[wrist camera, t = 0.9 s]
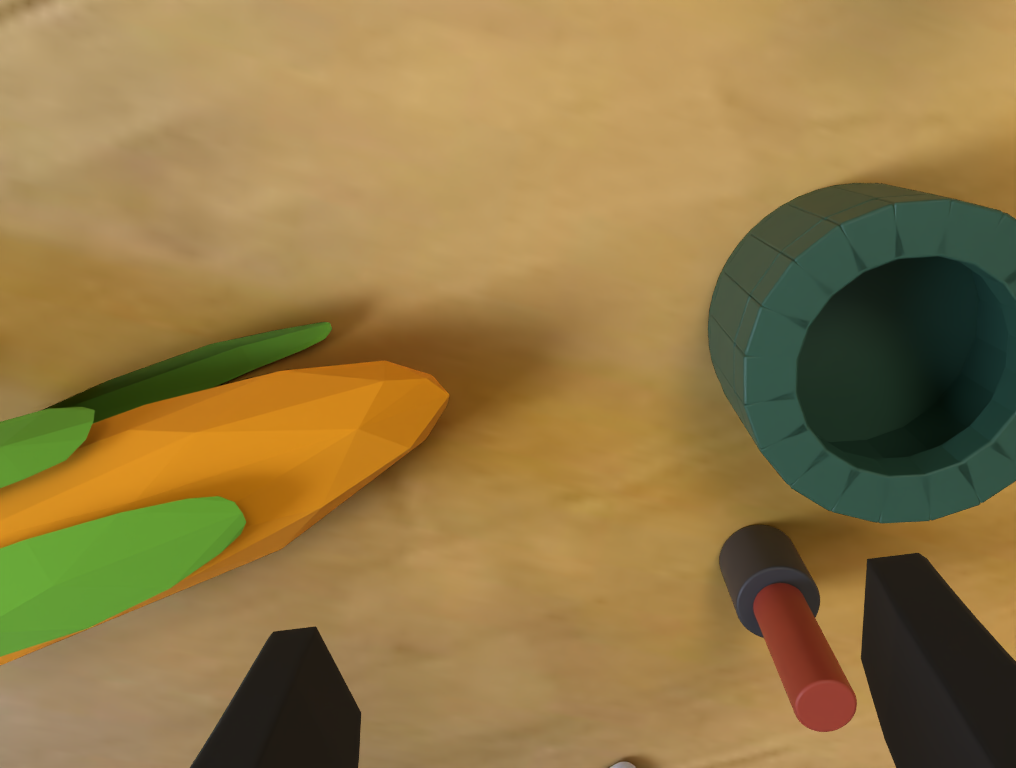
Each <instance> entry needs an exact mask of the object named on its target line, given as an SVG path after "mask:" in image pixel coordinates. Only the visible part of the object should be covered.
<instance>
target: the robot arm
mask: <svg viewBox="0 0 1016 768" xmlns="http://www.w3.org/2000/svg"><path fill="white" fill-rule="evenodd" d="M861 660H862V664H863V667H864V671H865V674H866V677H867V681H868V684H869V688H870V691H871V695H872V698H873V702H874V705H875V708H876V712H877V715H878V718H879V722H880V725H881V728H882V732H883V735H884V738H885V741H886V743H887V746H888V748H889V751H890V753H891V756H892V758H893V760H894V763H895V765H896V768H1016V661H1015V660H1014V659H1013V658H1012V657H1011V656H1010V655H1009V654H1008V653H1007V652H1006V651H1005V649H1004V648H1003V647H1002V646H1001V645H1000V644H999V643H998V642H997V641H996V639H995V638H994V637H993V636H992V635H991V634H990V633H989V632H988V630H987V629H986V628H985V627H984V626H983V625H982V624H981V623H980V622H979V620H978V619H977V618H976V617H975V616H974V615H973V614H972V612H971V611H970V610H969V609H968V608H967V607H966V605H965V604H964V603H963V602H962V601H961V600H960V598H959V597H958V596H957V595H956V594H955V592H954V591H953V590H952V589H951V588H950V586H949V585H948V584H947V583H946V582H945V580H944V579H943V578H942V577H941V576H940V574H939V573H938V572H937V571H936V569H935V568H934V567H933V566H932V564H931V563H930V562H929V561H928V559H927V558H925V557H924V556H922V555H921V554H919V553H913V554H905V555H896V556H888V557H880V558H872V559H867V570H866V586H865V603H864V619H863V635H862V651H861ZM360 725H361V712H360V710H359V708H358V706H357V704H356V702H355V700H354V698H353V696H352V694H351V692H350V691H349V689H348V687H347V685H346V683H345V681H344V679H343V677H342V675H341V673H340V671H339V670H338V668H337V666H336V664H335V662H334V660H333V658H332V656H331V654H330V652H329V651H328V649H327V647H326V645H325V643H324V641H323V639H322V637H321V635H320V633H319V631H318V630H317V628H316V627H308V628H300V629H292V630H284V631H276V632H273V633H272V634H271V635H270V637H269V638H268V640H267V641H266V643H265V645H264V646H263V648H262V650H261V651H260V653H259V655H258V656H257V658H256V660H255V661H254V663H253V665H252V667H251V668H250V670H249V672H248V673H247V675H246V677H245V678H244V680H243V682H242V684H241V685H240V687H239V689H238V690H237V692H236V694H235V695H234V697H233V699H232V700H231V702H230V704H229V705H228V707H227V709H226V710H225V712H224V714H223V715H222V717H221V719H220V720H219V722H218V724H217V725H216V727H215V729H214V730H213V732H212V733H211V735H210V737H209V738H208V740H207V741H206V743H205V745H204V746H203V748H202V749H201V751H200V753H199V754H198V756H197V757H196V759H195V760H194V762H193V764H192V765H191V767H190V768H358V762H359V746H360ZM610 768H636V767H635V766H634V765H633V764H631V763H629V762H619V763H616V764H614V765H613V766H611V767H610Z"/></svg>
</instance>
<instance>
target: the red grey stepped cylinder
mask: <svg viewBox="0 0 1016 768" xmlns="http://www.w3.org/2000/svg"><path fill="white" fill-rule="evenodd" d="M719 564H720V569H721V572H722V575H723V577H724V580H725V583H726V585H727V588H728V591H729V594H730V596H731V599H732V602H733V604H734V607H735V610H736V612H737V615H738V618H739V619H740V621H741V623H742V624H743V625H744V626H745V627H746V628H747V629H748V630H749V631H750V632H752V633H754V634H756V635H758V636H760V637H763V638H764V639H765V641H766V644H767V646H768V649H769V651H770V654H771V656H772V659H773V661H774V663H775V666H776V668H777V671H778V673H779V676H780V678H781V681H782V683H783V686H784V688H785V690H786V693H787V695H788V698H789V700H790V703H791V705H792V708H793V710H794V713H795V715H796V717H797V719H798V720H799V721H800V722H801V723H802V724H803V725H804V726H806V727H807V728H809V729H812V730H815V731H819V732H829V731H834V730H837V729H839V728H841V727H843V726H844V725H846V724H847V723H848V722H849V721H850V720H851V719H852V717H853V716H854V714H855V711H856V706H857V700H856V696H855V693H854V692H853V690H852V688H851V686H850V684H849V682H848V680H847V678H846V676H845V674H844V672H843V671H842V669H841V667H840V665H839V663H838V661H837V659H836V657H835V655H834V653H833V651H832V650H831V648H830V646H829V644H828V642H827V640H826V638H825V636H824V634H823V632H822V630H821V629H820V627H819V625H818V623H817V621H816V619H815V617H816V615H817V613H818V610H819V605H820V595H819V591H818V588H817V586H816V584H815V582H814V580H813V578H812V577H811V575H810V573H809V571H808V570H807V568H806V566H805V564H804V563H803V561H802V559H801V557H800V555H799V554H798V552H797V550H796V548H795V547H794V545H793V543H792V541H791V540H790V538H789V537H788V536H787V535H786V534H785V533H783V532H782V531H780V530H778V529H776V528H774V527H771V526H766V525H753V526H748V527H745V528H742V529H740V530H738V531H737V532H735V533H734V534H733V535H731V536H730V537H729V538H728V540H727V541H726V542H725V544H724V545H723V547H722V550H721V553H720V558H719Z"/></svg>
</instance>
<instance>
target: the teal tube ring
mask: <svg viewBox="0 0 1016 768" xmlns="http://www.w3.org/2000/svg"><path fill="white" fill-rule="evenodd" d="M708 338H709V348H710V353H711V359H712V363H713V366H714V369H715V371H716V374H717V377H718V379H719V381H720V383H721V386H722V388H723V391H724V393H725V395H726V397H727V399H728V400H729V402H730V403H731V405H732V407H733V408H734V410H735V411H736V413H737V415H738V416H739V418H740V419H741V421H742V423H743V424H744V426H745V428H746V429H747V431H748V432H749V434H750V435H751V437H752V439H753V440H754V442H755V443H756V445H757V447H758V448H759V450H760V451H761V453H762V454H763V455H764V456H765V458H766V459H767V460H768V461H769V463H770V464H771V465H772V466H773V467H774V469H775V470H776V471H777V472H778V473H779V475H780V476H781V477H782V478H783V480H784V481H785V482H786V483H787V484H788V485H790V487H791V488H792V489H794V490H795V491H797V492H799V493H800V494H802V495H804V496H805V497H807V498H809V499H810V500H812V501H813V502H815V503H817V504H818V505H820V506H822V507H823V508H825V509H827V510H828V511H832V512H835V513H839V514H843V515H847V516H851V517H855V518H859V519H864V520H868V521H872V522H876V523H877V522H879V523H898V522H918V521H930V520H935V519H938V518H941V517H944V516H947V515H950V514H953V513H956V512H959V511H962V510H965V509H968V508H971V507H974V506H977V505H979V504H980V502H981V503H982V502H985V501H986V500H988V499H989V498H991V497H992V496H994V495H995V494H997V493H998V492H1000V491H1001V490H1003V489H1004V488H1006V487H1007V486H1009V485H1010V484H1012V483H1013V482H1015V481H1016V219H1015V218H1013V217H1012V216H1010V215H1009V214H1007V213H1003V212H1002V211H1000V210H996V209H992V208H988V207H984V206H980V205H976V204H972V203H968V202H964V201H960V200H957V199H952V198H947V197H943V196H938V195H933V194H929V193H924V192H920V191H915V190H910V189H906V188H901V187H896V186H891V185H887V184H882V183H881V184H879V183H852V184H843V185H835V186H831V187H827V188H822V189H818V190H815V191H812V192H810V193H807V194H805V195H802V196H799V197H797V198H795V199H793V200H792V201H790V202H788V203H786V204H784V205H782V206H780V207H779V208H778V209H776V210H775V211H773V212H772V213H770V214H769V215H768V216H766V217H765V218H764V219H763V220H761V221H760V222H759V223H758V224H757V225H756V226H755V227H754V228H752V229H751V230H750V231H749V233H748V234H747V235H746V236H745V237H744V238H743V239H742V241H741V242H740V243H739V244H738V245H737V247H736V248H735V250H734V251H733V253H732V254H731V256H730V257H729V259H728V260H727V262H726V264H725V266H724V268H723V270H722V272H721V274H720V276H719V278H718V281H717V284H716V287H715V290H714V292H713V296H712V301H711V306H710V310H709V321H708Z"/></svg>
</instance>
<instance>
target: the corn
mask: <svg viewBox="0 0 1016 768" xmlns="http://www.w3.org/2000/svg"><path fill="white" fill-rule="evenodd" d="M331 330H332V327H331V325H330V323H328V322H320V323H314V324H309V325H303V326H297V327H292V328H286V329H280V330H275V331H270V332H265V333H261V334H256V335H251V336H247V337H242V338H237V339H232V340H228V341H223V342H218V343H214V344H210V345H207V346H204V347H201V348H198V349H196V350H193V351H190V352H187V353H184V354H182V355H179V356H176V357H173V358H170V359H168V360H165V361H162V362H159V363H156V364H153V365H151V366H148V367H145V368H142V369H139V370H137V371H134V372H131V373H128V374H125V375H123V376H120V377H117V378H114V379H111V380H109V381H106V382H104V383H102V384H99V385H97V386H95V387H93V388H90V389H88V390H86V391H84V392H81V393H79V394H77V395H75V396H73V397H70V398H68V399H66V400H64V401H61V402H59V403H57V404H55V405H52V406H50V407H48V408H46V409H43V410H41V411H38V412H34V413H31V414H27V415H24V416H20V417H17V418H13V419H9V420H6V421H2V422H0V665H3V664H5V663H7V662H10V661H12V660H15V659H17V658H19V657H22V656H24V655H27V654H29V653H32V652H34V651H36V650H39V649H41V648H44V647H46V646H48V645H51V644H53V643H56V642H58V641H61V640H63V639H65V638H68V637H70V636H73V635H75V634H77V633H80V632H82V631H85V630H87V629H90V628H92V627H94V626H97V625H99V624H102V623H104V622H106V621H109V620H111V619H114V618H116V617H119V616H121V615H123V614H126V613H128V612H131V611H133V610H135V609H138V608H140V607H143V606H145V605H148V604H150V603H152V602H155V601H157V600H160V599H162V598H164V597H167V596H169V595H172V594H174V593H177V592H179V591H181V590H184V589H186V588H189V587H191V586H193V585H196V584H198V583H201V582H203V581H206V580H208V579H210V578H213V577H215V576H218V575H220V574H222V573H225V572H227V571H230V570H232V569H235V568H237V567H239V566H242V565H244V564H247V563H249V562H251V561H254V560H256V559H259V558H261V557H264V556H266V555H268V554H271V553H273V552H276V551H278V550H280V549H282V548H283V547H285V546H286V545H287V544H289V543H290V542H291V541H293V540H294V539H295V538H297V537H298V536H299V535H301V534H302V533H303V532H304V531H306V530H307V529H308V528H310V527H311V526H312V525H314V524H315V523H316V522H318V521H319V520H320V519H322V518H323V517H324V516H326V515H327V514H328V513H330V512H331V511H332V510H334V509H335V508H336V507H337V506H339V505H340V504H341V503H343V502H344V501H345V500H347V499H348V498H349V497H351V496H352V495H353V494H355V493H356V492H357V491H359V490H360V489H361V488H363V487H364V486H365V485H367V484H368V483H369V482H370V481H372V480H373V479H374V478H376V477H377V476H378V475H380V474H381V473H382V472H384V471H385V470H386V469H388V468H389V467H390V466H392V465H393V464H394V463H396V462H397V461H398V460H400V459H401V458H402V457H403V456H405V455H406V454H407V453H409V452H410V451H411V450H413V449H414V448H415V447H417V446H418V445H419V444H421V443H422V442H423V441H425V440H426V438H427V437H428V435H429V433H430V432H431V430H432V429H433V427H434V425H435V424H436V422H437V421H438V419H439V418H440V416H441V414H442V413H443V411H444V410H445V408H446V406H447V403H448V400H449V396H450V395H449V394H448V392H447V391H446V390H445V389H444V388H443V387H442V386H441V385H440V384H439V382H438V381H437V380H436V379H435V378H434V377H433V376H432V375H430V374H427V373H424V372H421V371H417V370H414V369H411V368H408V367H404V366H401V365H398V364H394V363H391V362H388V361H375V362H365V363H355V364H345V365H335V366H325V367H314V368H304V369H294V370H284V371H278V372H274V373H270V374H266V375H262V376H258V377H254V378H250V379H246V380H242V381H238V382H234V383H230V384H226V385H222V386H218V385H220V384H222V383H225V382H227V381H229V380H231V379H234V378H236V377H238V376H240V375H243V374H245V373H247V372H249V371H252V370H254V369H256V368H259V367H261V366H264V365H266V364H269V363H271V362H274V361H276V360H279V359H281V358H284V357H286V356H289V355H291V354H294V353H296V352H299V351H301V350H304V349H306V348H308V347H310V346H312V345H314V344H316V343H318V342H320V341H322V340H324V339H325V338H326V337H327V336H328V334H329V333H330V331H331ZM216 386H218V387H216ZM213 387H214V388H213Z"/></svg>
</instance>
